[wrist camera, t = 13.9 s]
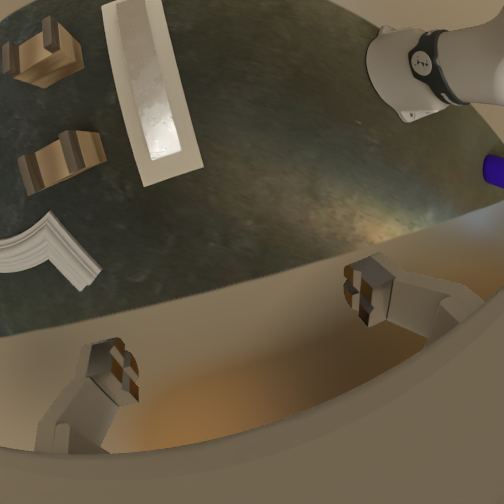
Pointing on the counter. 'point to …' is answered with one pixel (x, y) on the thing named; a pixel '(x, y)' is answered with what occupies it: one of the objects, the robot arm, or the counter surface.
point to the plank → (189, 151)
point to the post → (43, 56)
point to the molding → (49, 252)
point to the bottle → (494, 170)
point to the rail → (147, 79)
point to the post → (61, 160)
